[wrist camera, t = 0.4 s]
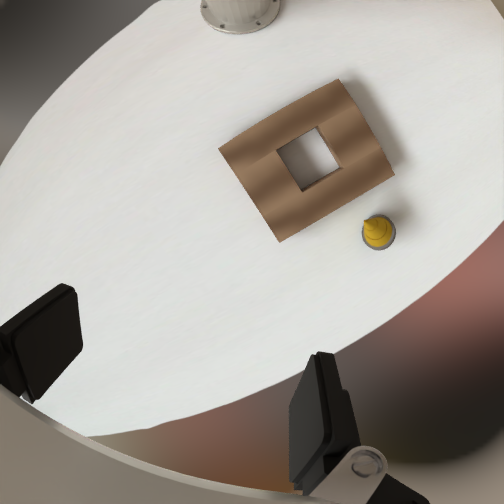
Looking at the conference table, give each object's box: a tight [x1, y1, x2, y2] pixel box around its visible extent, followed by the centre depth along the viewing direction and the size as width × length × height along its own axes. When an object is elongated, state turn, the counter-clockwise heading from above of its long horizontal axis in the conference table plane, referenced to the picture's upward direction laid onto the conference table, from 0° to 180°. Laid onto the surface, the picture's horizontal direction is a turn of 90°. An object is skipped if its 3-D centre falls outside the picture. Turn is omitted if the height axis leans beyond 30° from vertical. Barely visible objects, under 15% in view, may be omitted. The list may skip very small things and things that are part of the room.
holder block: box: [218, 79, 395, 243], centre depth 39 cm, size 16×20×3 cm
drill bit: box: [362, 215, 396, 250], centre depth 39 cm, size 5×5×10 cm
